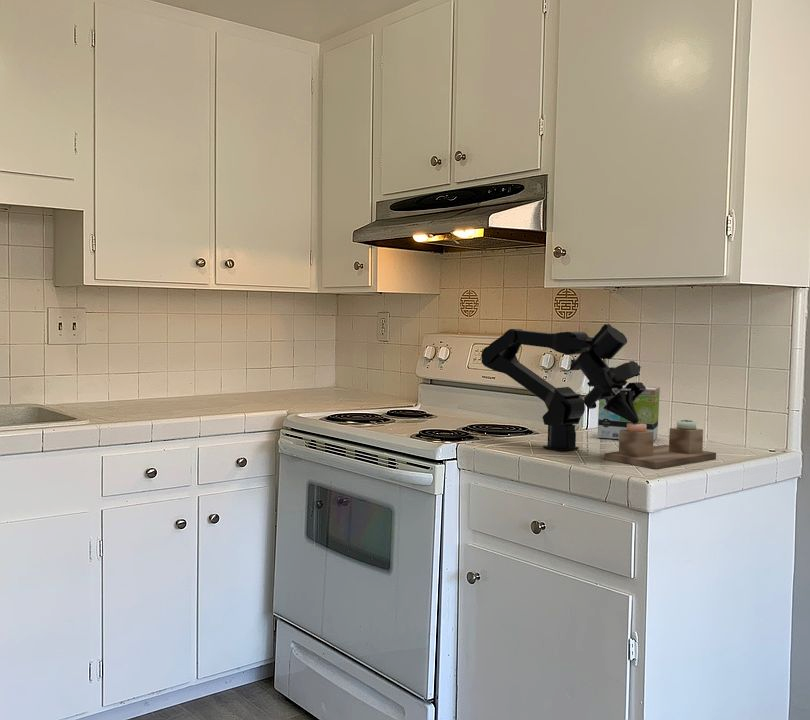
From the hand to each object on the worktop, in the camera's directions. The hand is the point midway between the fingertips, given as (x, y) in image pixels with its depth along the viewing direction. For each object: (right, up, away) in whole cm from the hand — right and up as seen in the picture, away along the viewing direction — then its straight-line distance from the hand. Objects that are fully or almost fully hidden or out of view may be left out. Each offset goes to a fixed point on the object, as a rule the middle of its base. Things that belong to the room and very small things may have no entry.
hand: (636, 422), depth 185 cm
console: (+7, -9, +3) cm, 12 cm away
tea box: (+8, -8, +36) cm, 37 cm away
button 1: (0, -2, 0) cm, 2 cm away
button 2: (+13, -2, +5) cm, 15 cm away
